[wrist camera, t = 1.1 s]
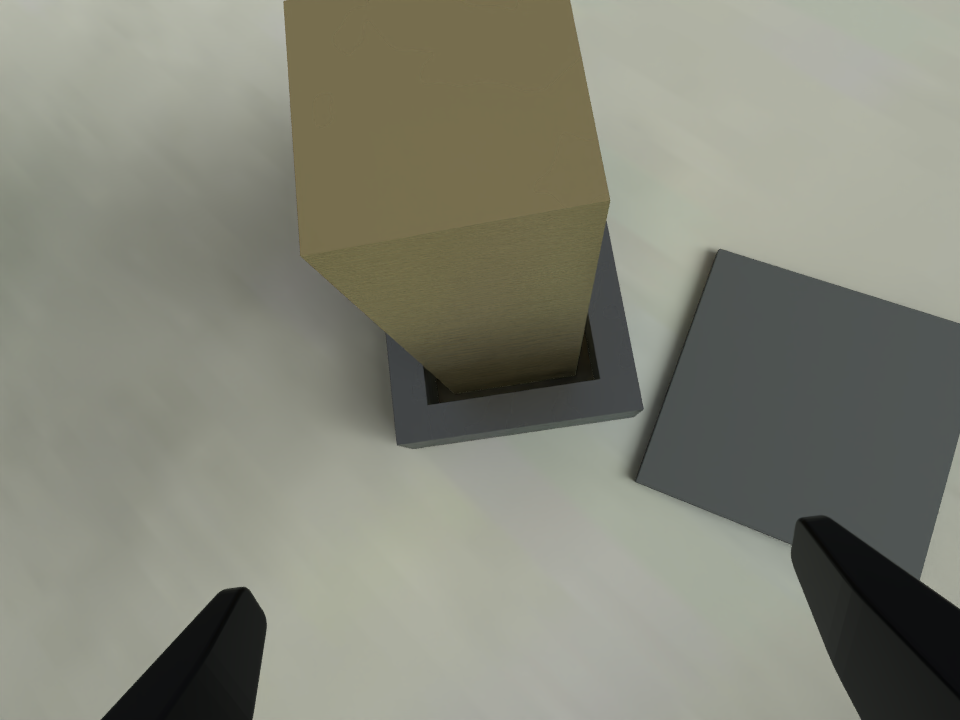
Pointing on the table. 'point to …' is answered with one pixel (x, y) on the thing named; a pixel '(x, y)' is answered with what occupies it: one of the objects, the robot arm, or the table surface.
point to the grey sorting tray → (529, 409)
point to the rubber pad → (810, 410)
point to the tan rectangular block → (451, 177)
